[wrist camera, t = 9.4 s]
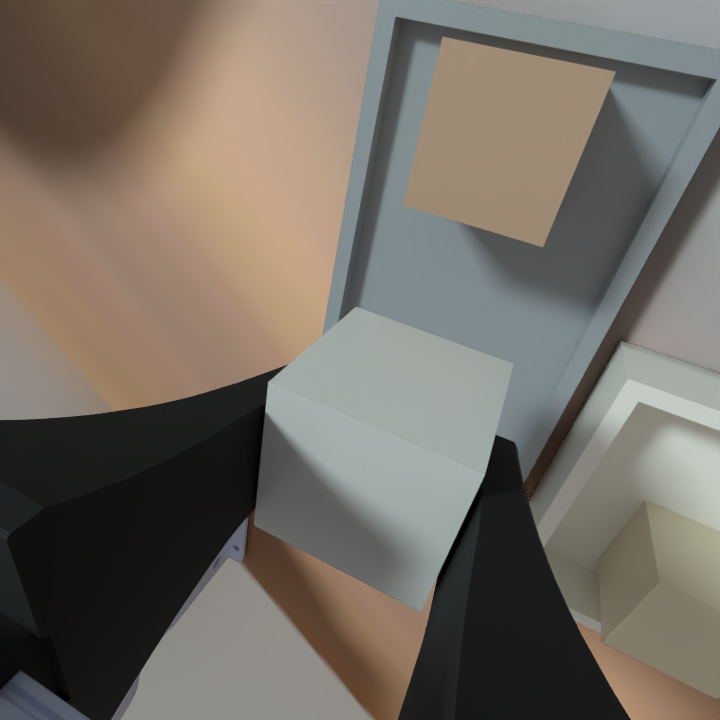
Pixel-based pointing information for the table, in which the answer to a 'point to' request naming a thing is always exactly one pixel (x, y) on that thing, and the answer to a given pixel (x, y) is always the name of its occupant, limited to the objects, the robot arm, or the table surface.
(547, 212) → the tan cube
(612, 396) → the dish
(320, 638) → the table surface
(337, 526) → the light grey cube
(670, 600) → the cream cube
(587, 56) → the parts tray
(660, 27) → the table surface
